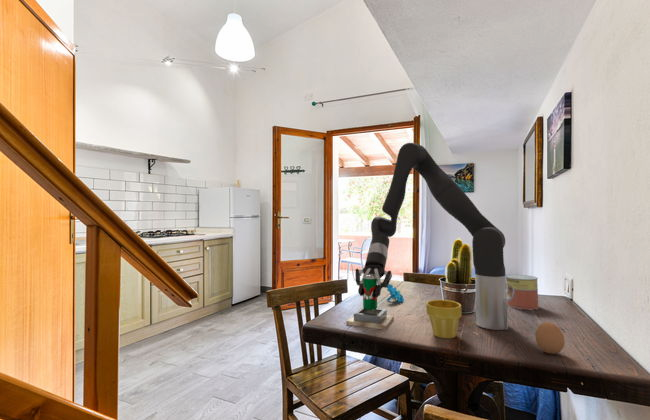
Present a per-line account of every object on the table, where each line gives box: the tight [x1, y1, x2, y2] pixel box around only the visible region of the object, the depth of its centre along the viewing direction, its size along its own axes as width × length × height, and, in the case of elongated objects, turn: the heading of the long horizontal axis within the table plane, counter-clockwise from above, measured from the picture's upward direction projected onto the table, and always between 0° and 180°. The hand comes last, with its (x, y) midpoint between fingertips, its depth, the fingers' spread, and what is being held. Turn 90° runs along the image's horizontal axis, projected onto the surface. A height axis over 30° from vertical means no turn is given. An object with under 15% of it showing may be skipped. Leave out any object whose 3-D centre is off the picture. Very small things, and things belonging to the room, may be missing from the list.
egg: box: [535, 321, 566, 355], centre depth 87 cm, size 6×6×8 cm
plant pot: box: [425, 299, 463, 339], centre depth 101 cm, size 10×10×10 cm
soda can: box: [362, 274, 378, 310], centre depth 116 cm, size 5×5×12 cm
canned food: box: [505, 274, 539, 311], centre depth 133 cm, size 11×11×12 cm
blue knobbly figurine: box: [386, 283, 405, 304], centre depth 144 cm, size 11×6×10 cm
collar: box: [353, 306, 388, 324], centre depth 115 cm, size 9×9×2 cm
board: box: [345, 314, 395, 331], centre depth 115 cm, size 14×12×1 cm
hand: (368, 295), depth 114 cm, fingers closed on soda can, 5 cm apart
